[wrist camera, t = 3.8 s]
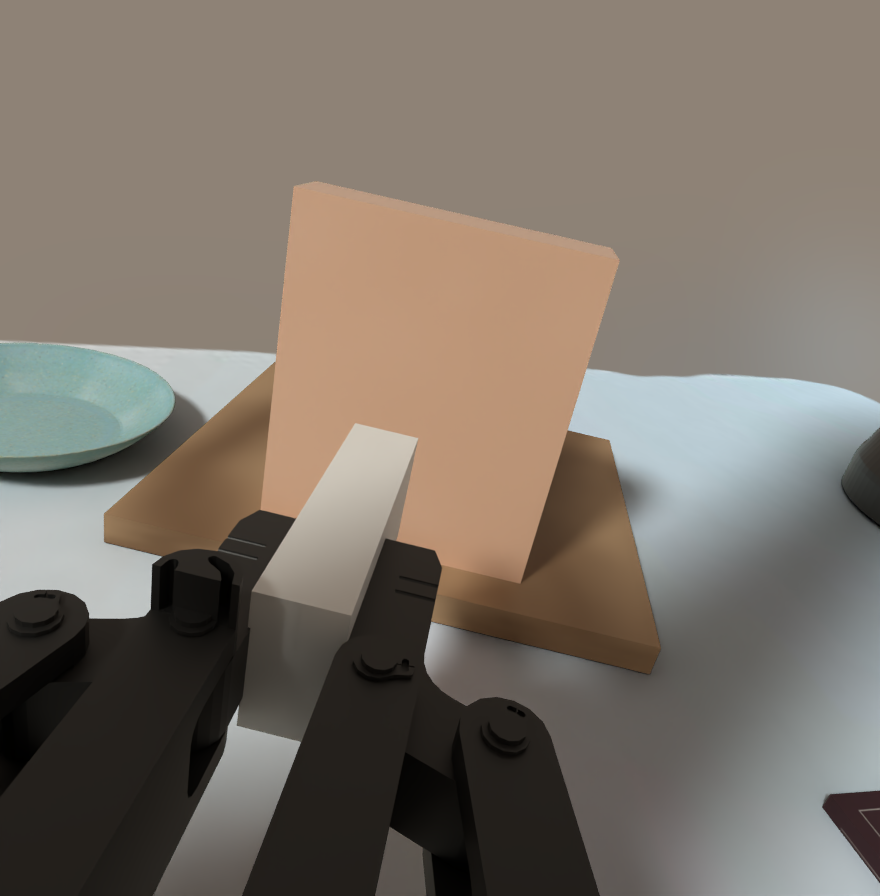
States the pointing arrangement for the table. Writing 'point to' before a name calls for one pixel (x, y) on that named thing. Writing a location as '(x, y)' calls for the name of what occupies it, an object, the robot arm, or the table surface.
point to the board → (459, 592)
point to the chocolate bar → (859, 824)
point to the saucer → (73, 405)
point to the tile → (433, 363)
